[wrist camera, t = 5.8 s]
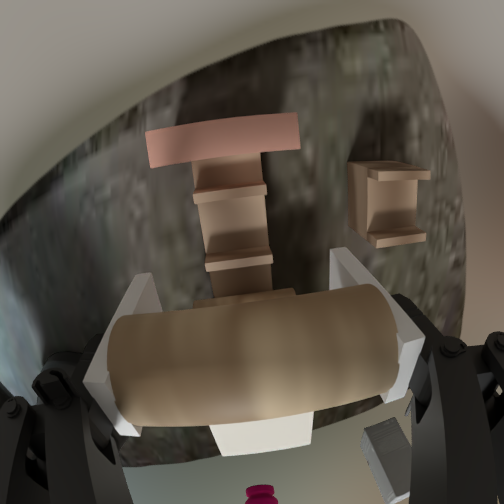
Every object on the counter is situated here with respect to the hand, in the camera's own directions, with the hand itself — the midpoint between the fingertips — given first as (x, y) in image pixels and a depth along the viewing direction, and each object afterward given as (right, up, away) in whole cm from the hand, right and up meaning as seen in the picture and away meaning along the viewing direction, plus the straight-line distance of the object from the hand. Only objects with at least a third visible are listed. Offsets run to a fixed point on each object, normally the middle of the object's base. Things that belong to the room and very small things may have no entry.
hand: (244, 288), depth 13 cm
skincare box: (+24, -32, +30) cm, 50 cm away
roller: (0, -1, -3) cm, 3 cm away
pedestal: (+12, +7, +12) cm, 18 cm away
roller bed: (0, -4, +16) cm, 16 cm away
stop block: (-2, +11, +10) cm, 15 cm away
